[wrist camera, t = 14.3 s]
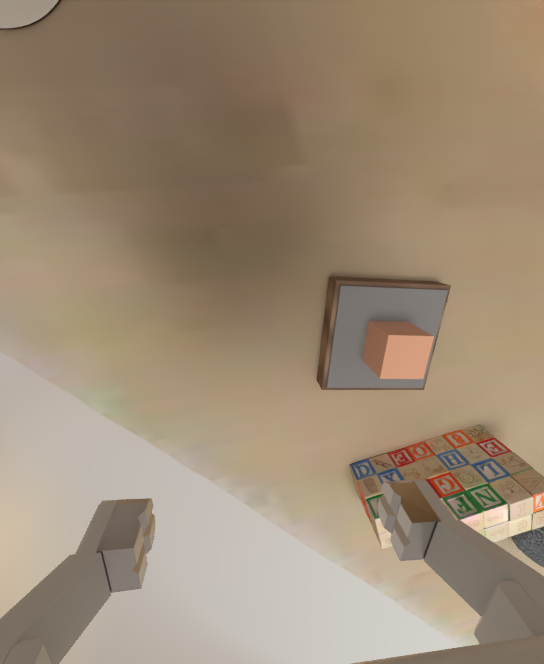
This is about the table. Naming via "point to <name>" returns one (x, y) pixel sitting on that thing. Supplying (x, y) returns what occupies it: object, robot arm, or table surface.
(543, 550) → the koala plush
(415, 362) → the terracotta cube
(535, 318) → the table surface
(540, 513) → the stack of blocks
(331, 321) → the walnut framed mirror
